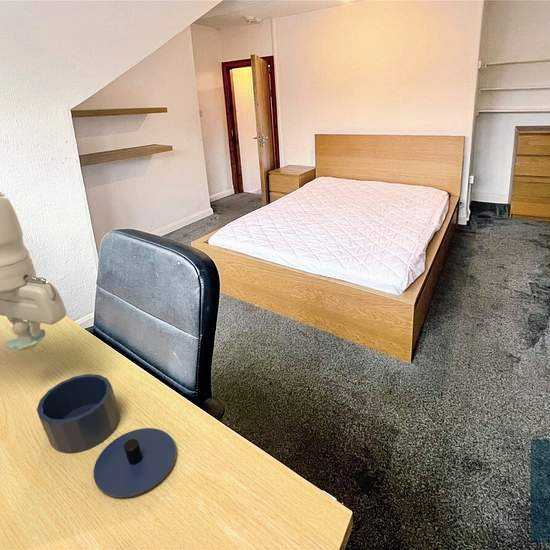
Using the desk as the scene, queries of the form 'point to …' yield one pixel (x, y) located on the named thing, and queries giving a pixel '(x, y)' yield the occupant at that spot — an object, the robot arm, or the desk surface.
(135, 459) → the lid
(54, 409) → the pot
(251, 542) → the desk surface
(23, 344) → the pacifier
